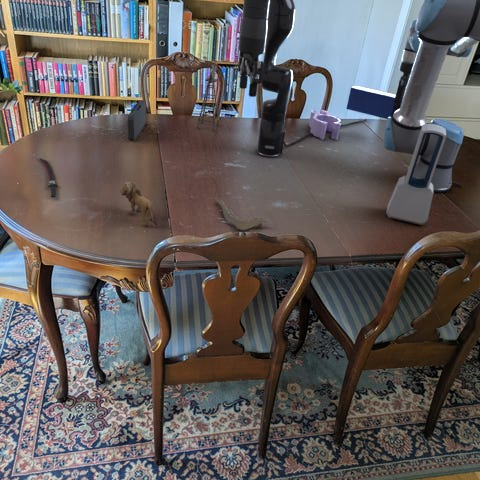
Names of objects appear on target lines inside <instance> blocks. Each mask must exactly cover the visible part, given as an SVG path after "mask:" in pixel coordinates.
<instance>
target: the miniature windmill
mask: <svg viewBox="0 0 480 480" xmlns="http://www.w3.org/2000/svg"><path fill="white" fill-rule="evenodd" d="M211 63H212V64H210V65H209V63H205V62H201V65H200V66H201V69H210V74H209V76H208V77H207V78H206V79H205V82H207V84H206V90H205V91H204V92H205V93H204V96H203V101H202V102H201V103H202V105H201V108H200V112H199V117H198V118H197V124H196V129H198V128H199V126H200V122H201V123H202V124H203V123H204V122H207V123H213V132H216V122H217V125H218V126H220V116H219V111H218V102H217V95H216V85H215V83H216V82H219V79H217V78H215V77H216V75H217V74H216V73H217V69H218V67H217V66H218V61H217V56H216V55H215V56H214V59H212V62H211ZM210 89H211V94H210V93H209V90H210ZM208 99H210V100H211V101H212V103H211V104H210V103H207V101H208ZM207 106H212V108H210V107H207ZM206 110H211V111H212V115H210V114H205V112H206ZM215 111H216V115H215ZM205 117H210V118H212V120H206V119H205ZM204 119H205V120H204Z"/></svg>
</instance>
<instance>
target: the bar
mask: <svg viewBox="0 0 480 480" xmlns="http://www.w3.org/2000/svg"><path fill="white" fill-rule="evenodd" d="M395 96H396V93H395V94H394V93H390V92H385V91H383V90H382V91H381V90H377V89H372V88H368V87H363V86H359V85H353V86H350V90H349V95H348V99H347V105H346V110H349V111H353V112H356V113H360V114H364V115H368V116H373V117H377V118H381V119H385V120H387V118H388V117H391V115H392V111H393V107H394V104H393V102H394V100H395ZM403 97H404V96H403ZM402 100H403V99H402ZM401 103H402V102H401Z"/></svg>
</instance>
